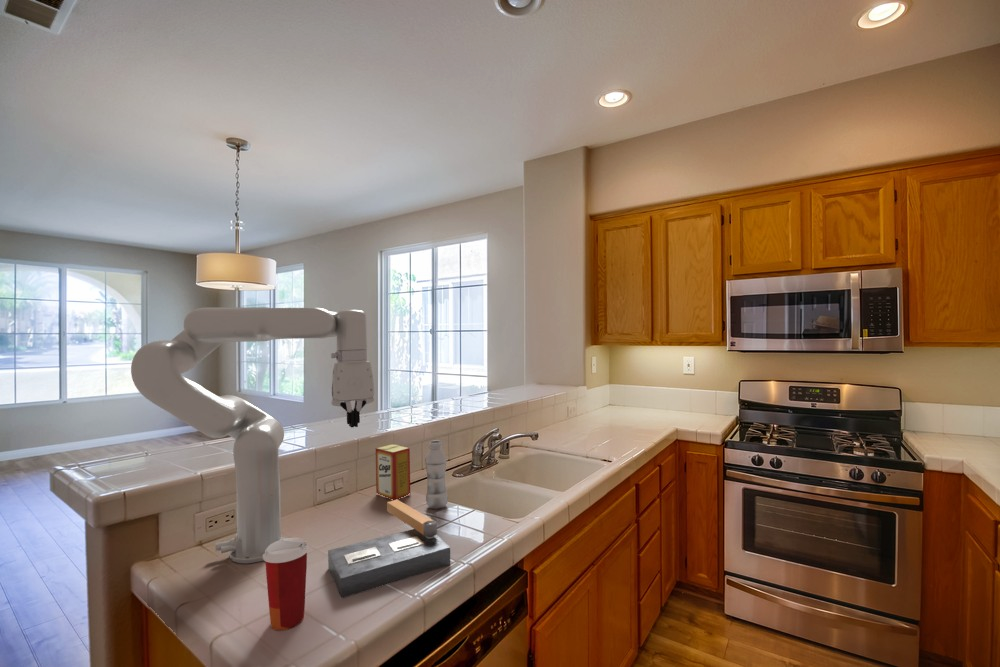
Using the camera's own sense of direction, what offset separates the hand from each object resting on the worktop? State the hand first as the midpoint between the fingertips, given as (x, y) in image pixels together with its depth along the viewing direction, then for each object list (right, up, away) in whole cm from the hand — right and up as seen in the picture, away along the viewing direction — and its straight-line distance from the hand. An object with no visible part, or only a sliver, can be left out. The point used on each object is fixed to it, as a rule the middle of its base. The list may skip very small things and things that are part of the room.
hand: (353, 426), depth 118 cm
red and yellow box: (+3, -30, +31) cm, 43 cm away
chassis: (+13, -29, -16) cm, 35 cm away
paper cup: (-1, -29, -35) cm, 45 cm away
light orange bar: (+16, -24, -4) cm, 29 cm away
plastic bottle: (+19, -29, +19) cm, 40 cm away
